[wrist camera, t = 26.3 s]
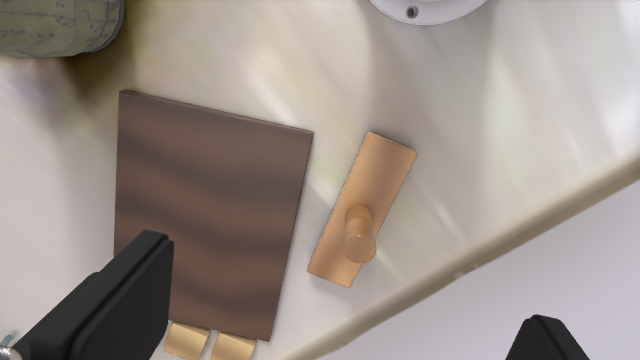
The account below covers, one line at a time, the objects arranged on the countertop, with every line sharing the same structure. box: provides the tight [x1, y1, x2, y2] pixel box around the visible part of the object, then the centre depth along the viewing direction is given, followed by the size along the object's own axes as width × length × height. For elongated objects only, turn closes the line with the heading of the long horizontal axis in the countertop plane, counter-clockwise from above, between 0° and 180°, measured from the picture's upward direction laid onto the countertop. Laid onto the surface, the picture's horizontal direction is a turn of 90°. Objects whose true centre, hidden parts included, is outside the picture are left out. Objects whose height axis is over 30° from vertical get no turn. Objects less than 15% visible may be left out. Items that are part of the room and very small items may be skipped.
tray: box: [114, 90, 313, 342], centre depth 39 cm, size 23×17×1 cm
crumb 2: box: [209, 331, 257, 360], centre depth 44 cm, size 4×4×1 cm
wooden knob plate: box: [307, 131, 417, 288], centre depth 34 cm, size 4×14×8 cm, turn 158°
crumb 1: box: [163, 321, 210, 360], centre depth 44 cm, size 4×4×1 cm
